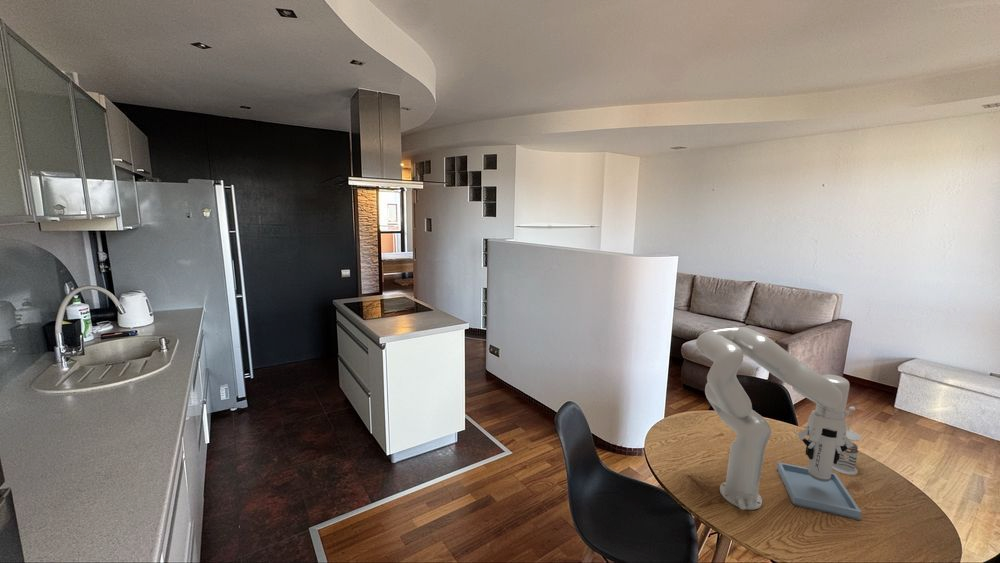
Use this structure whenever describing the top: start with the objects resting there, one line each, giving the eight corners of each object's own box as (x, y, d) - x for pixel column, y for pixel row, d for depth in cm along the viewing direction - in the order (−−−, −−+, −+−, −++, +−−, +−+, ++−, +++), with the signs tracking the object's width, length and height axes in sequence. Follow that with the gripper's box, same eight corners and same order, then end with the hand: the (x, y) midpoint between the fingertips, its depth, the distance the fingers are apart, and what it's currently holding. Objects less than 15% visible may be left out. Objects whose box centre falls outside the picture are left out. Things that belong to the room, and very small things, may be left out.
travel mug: (821, 470, 142) (830, 418, 138) (834, 482, 136) (844, 429, 132) (802, 468, 143) (811, 417, 139) (815, 481, 136) (824, 428, 132)
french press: (864, 476, 149) (877, 415, 144) (828, 472, 151) (840, 411, 146) (847, 460, 158) (859, 401, 154) (814, 456, 161) (824, 398, 156)
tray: (860, 520, 128) (861, 512, 128) (793, 505, 134) (794, 497, 134) (834, 480, 146) (835, 473, 146) (776, 468, 153) (777, 461, 152)
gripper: (856, 410, 135) (847, 458, 138) (795, 402, 141) (788, 447, 144) (867, 422, 128) (857, 471, 131) (802, 412, 134) (794, 460, 137)
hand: (821, 458), depth 138 cm, fingers closed on travel mug, 6 cm apart
